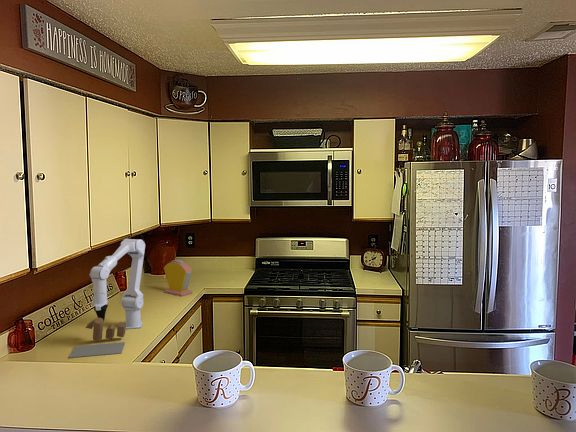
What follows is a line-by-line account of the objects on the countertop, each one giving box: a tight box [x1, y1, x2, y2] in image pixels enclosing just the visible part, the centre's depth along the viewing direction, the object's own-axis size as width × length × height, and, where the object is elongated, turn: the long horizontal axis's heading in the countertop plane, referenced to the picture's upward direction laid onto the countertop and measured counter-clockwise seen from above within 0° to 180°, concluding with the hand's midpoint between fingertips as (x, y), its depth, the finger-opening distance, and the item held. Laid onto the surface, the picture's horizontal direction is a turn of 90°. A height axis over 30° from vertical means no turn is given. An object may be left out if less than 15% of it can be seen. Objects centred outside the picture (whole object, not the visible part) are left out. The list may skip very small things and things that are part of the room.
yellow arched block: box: [163, 259, 193, 297], centre depth 300 cm, size 22×9×22 cm, turn 53°
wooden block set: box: [85, 317, 127, 342], centre depth 215 cm, size 18×9×10 cm, turn 93°
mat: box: [68, 341, 126, 359], centre depth 204 cm, size 13×21×1 cm, turn 103°
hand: (101, 321), depth 215 cm, fingers closed
